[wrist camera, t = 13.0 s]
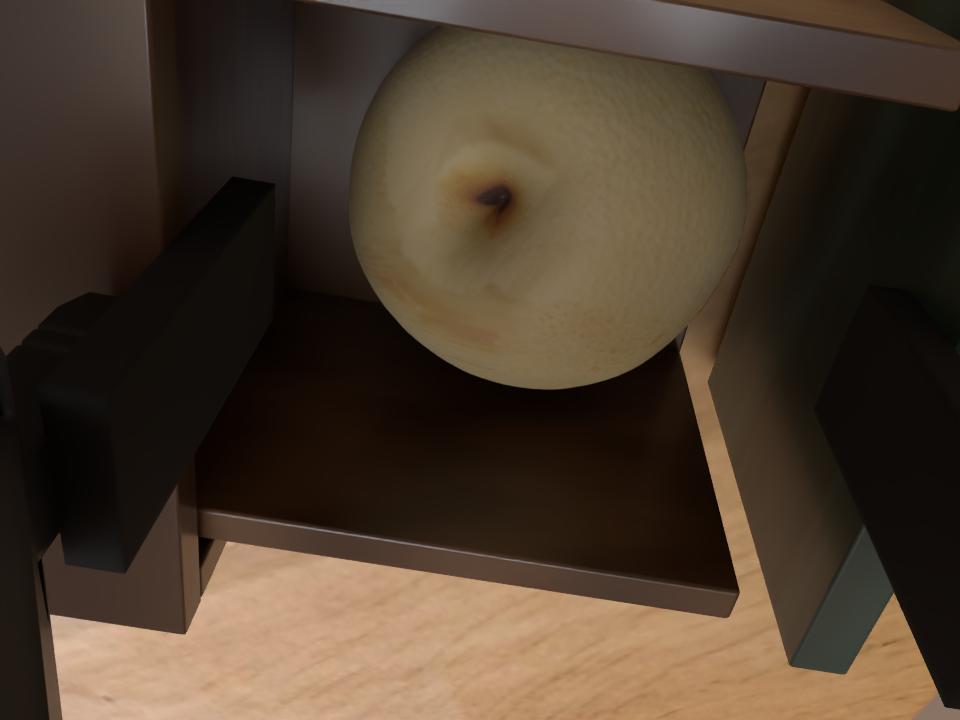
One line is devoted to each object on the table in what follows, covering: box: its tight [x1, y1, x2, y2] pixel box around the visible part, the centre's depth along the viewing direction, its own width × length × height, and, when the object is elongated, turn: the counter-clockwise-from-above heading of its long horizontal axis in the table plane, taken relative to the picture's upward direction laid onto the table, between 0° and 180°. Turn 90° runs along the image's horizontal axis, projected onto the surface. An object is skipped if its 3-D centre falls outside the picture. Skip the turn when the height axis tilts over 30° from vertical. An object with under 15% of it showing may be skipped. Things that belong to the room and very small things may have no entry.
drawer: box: [175, 0, 960, 674], centre depth 18 cm, size 20×13×10 cm, turn 82°
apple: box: [349, 25, 747, 390], centre depth 18 cm, size 8×8×8 cm
